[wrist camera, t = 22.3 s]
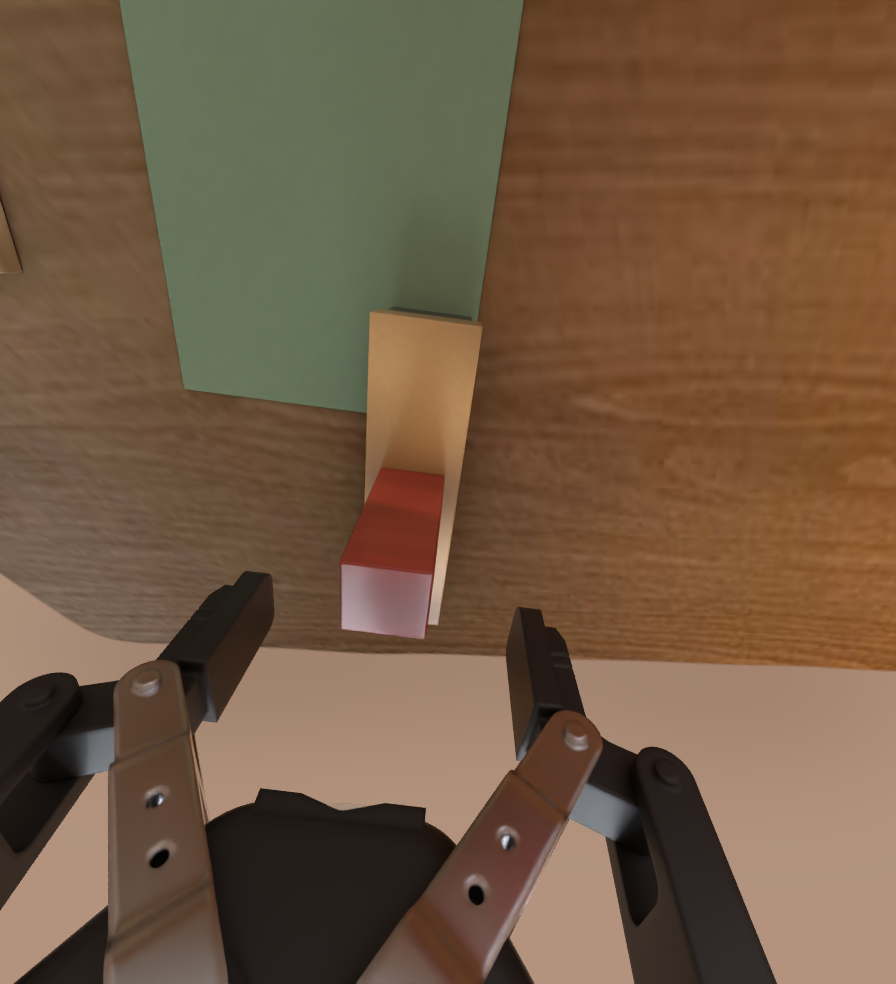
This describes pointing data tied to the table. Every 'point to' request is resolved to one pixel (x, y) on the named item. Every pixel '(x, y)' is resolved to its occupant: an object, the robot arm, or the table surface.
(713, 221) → the table surface
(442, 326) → the brush
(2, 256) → the chip
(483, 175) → the mat
